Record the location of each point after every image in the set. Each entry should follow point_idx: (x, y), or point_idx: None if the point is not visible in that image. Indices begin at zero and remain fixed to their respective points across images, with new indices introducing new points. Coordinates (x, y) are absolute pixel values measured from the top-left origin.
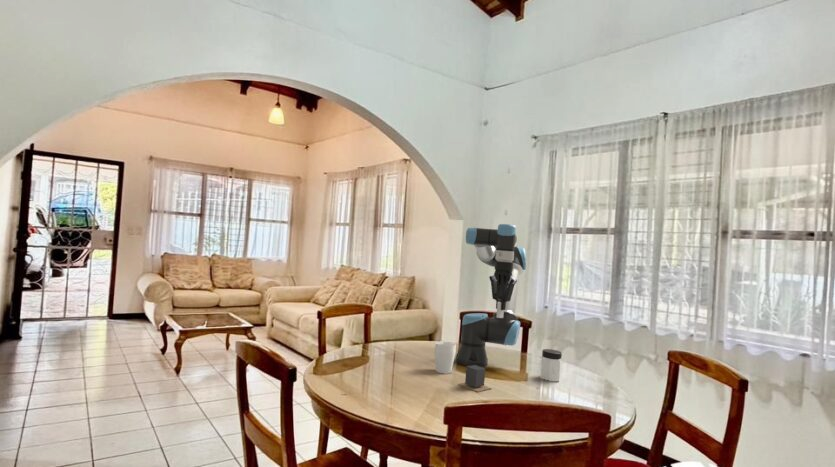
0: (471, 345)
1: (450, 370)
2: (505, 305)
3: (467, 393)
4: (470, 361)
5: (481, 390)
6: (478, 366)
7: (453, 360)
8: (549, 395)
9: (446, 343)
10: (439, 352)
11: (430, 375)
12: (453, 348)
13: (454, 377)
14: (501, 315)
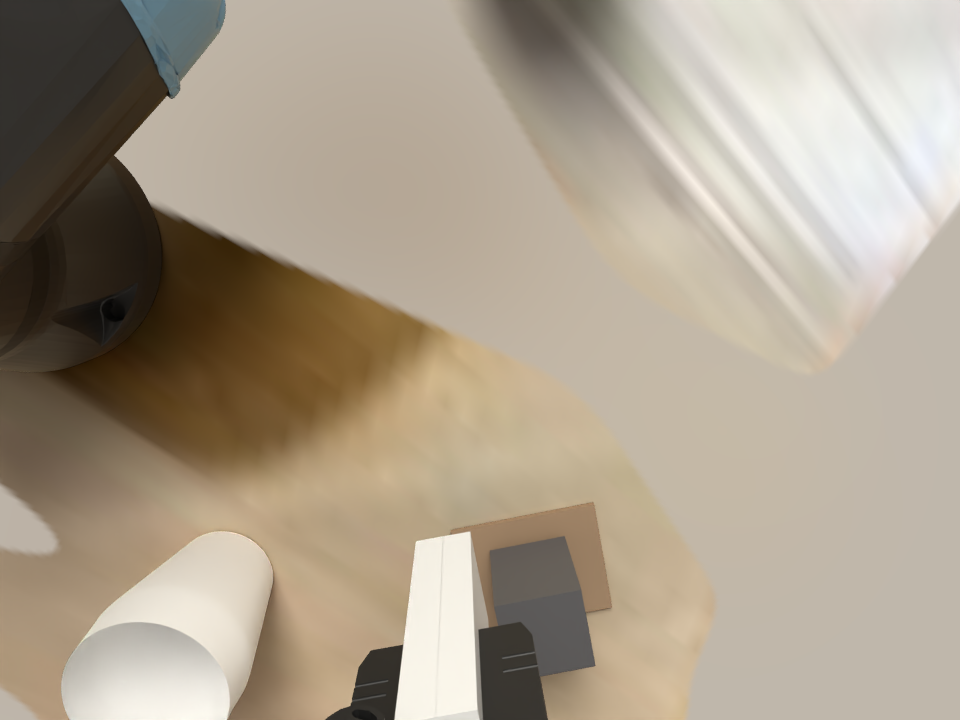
0: (19, 337)
1: (265, 565)
2: (539, 682)
3: (605, 661)
4: (120, 332)
5: (606, 580)
6: (531, 607)
7: (244, 584)
8: (801, 231)
9: (82, 640)
10: (209, 717)
11: (284, 682)
12: (232, 659)
13: (348, 574)
14: (481, 596)
